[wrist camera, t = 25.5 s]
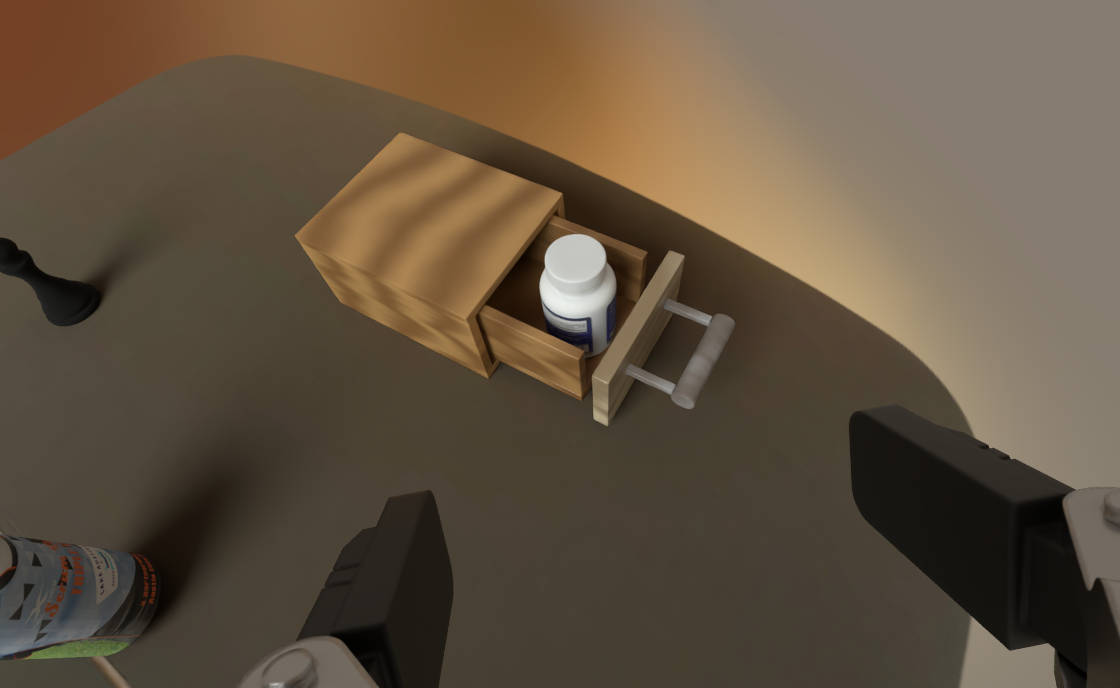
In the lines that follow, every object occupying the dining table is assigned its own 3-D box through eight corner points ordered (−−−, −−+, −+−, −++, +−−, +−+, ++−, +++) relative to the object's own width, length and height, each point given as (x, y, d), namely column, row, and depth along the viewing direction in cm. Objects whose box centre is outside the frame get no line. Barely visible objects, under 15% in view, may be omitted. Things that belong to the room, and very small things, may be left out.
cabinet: (569, 265, 50) (563, 193, 43) (488, 378, 45) (466, 318, 38) (427, 206, 55) (400, 131, 48) (340, 302, 50) (294, 235, 42)
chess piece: (48, 334, 50) (-66, 261, 42) (49, 297, 52) (-60, 220, 44) (101, 314, 51) (-1, 239, 42) (99, 279, 53) (2, 200, 44)
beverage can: (188, 613, 38) (31, 585, 27) (74, 694, 36) (-143, 698, 25) (158, 535, 40) (5, 484, 30) (51, 607, 38) (-153, 578, 28)
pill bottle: (587, 291, 46) (584, 213, 39) (629, 335, 44) (634, 261, 36) (533, 326, 45) (518, 252, 37) (573, 373, 42) (566, 304, 35)
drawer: (734, 335, 44) (754, 282, 39) (672, 459, 40) (683, 420, 34) (522, 246, 50) (511, 188, 45) (446, 344, 46) (423, 294, 40)
